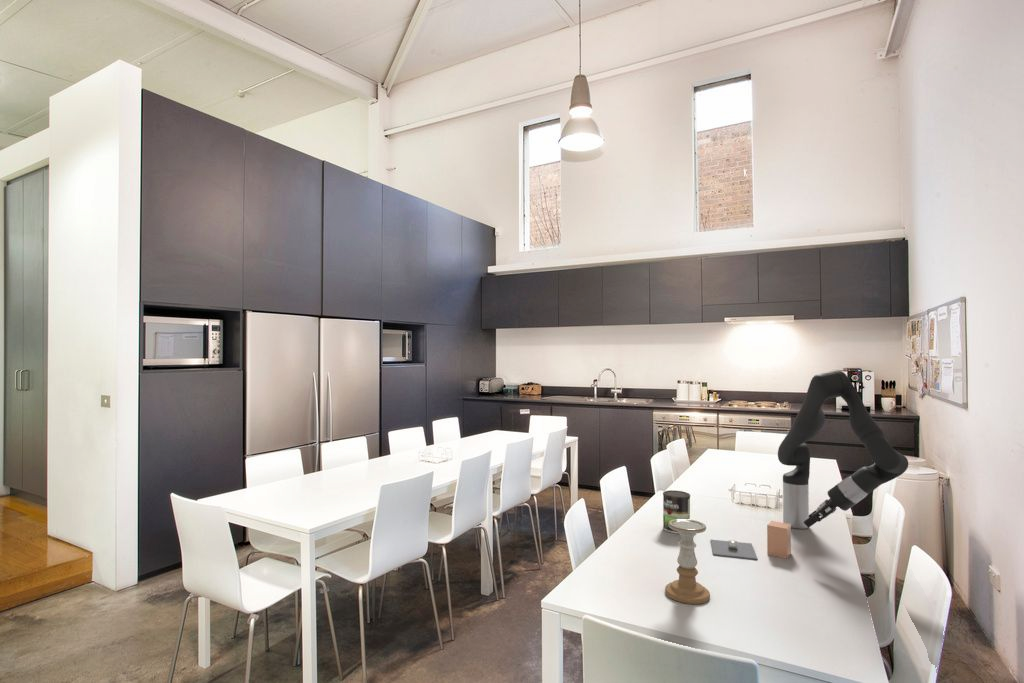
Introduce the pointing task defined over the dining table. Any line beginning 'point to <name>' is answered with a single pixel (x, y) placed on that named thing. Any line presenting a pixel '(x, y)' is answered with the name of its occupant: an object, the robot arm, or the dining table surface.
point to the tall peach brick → (779, 539)
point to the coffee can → (675, 507)
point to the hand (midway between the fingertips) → (808, 521)
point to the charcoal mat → (742, 550)
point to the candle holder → (687, 565)
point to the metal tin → (732, 545)
